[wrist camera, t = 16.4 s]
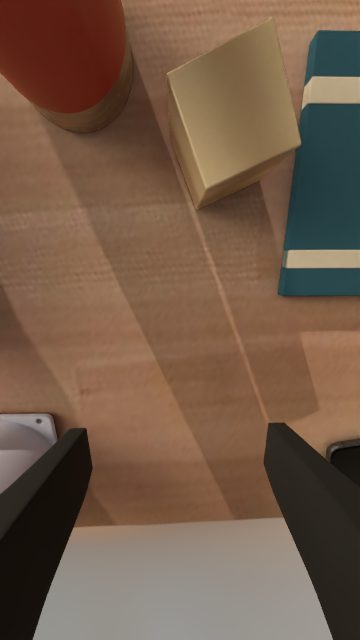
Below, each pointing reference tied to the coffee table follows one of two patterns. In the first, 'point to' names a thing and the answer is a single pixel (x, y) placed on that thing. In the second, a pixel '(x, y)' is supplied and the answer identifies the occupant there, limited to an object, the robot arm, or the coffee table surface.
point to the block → (232, 114)
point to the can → (68, 58)
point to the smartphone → (346, 458)
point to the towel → (326, 175)
